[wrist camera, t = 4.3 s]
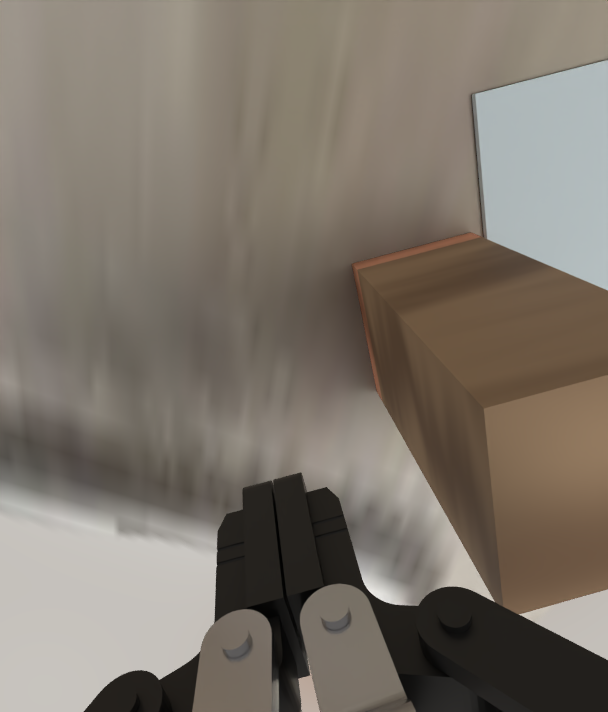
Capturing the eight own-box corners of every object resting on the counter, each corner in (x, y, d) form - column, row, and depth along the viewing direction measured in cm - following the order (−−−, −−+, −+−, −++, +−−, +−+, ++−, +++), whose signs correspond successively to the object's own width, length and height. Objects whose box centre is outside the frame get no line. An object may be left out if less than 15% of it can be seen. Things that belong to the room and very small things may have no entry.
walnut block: (351, 263, 21) (483, 408, 10) (470, 232, 21) (729, 341, 10) (376, 391, 23) (504, 618, 13) (483, 362, 24) (701, 562, 13)
